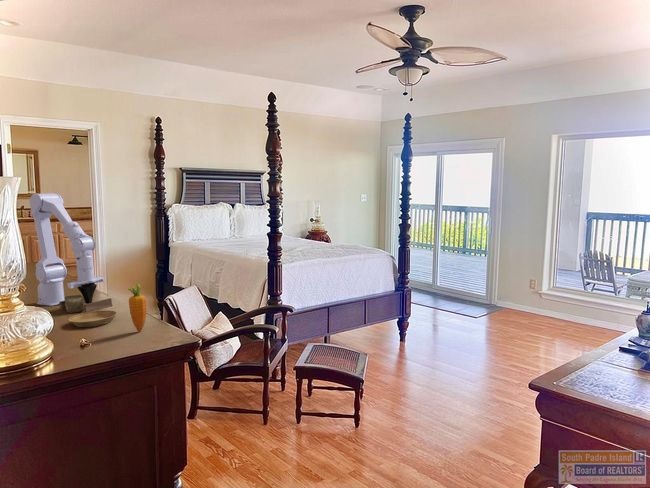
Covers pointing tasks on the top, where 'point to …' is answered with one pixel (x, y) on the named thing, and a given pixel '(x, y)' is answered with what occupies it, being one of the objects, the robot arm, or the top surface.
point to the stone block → (74, 303)
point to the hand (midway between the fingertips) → (88, 303)
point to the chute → (91, 305)
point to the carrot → (137, 308)
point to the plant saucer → (92, 318)
